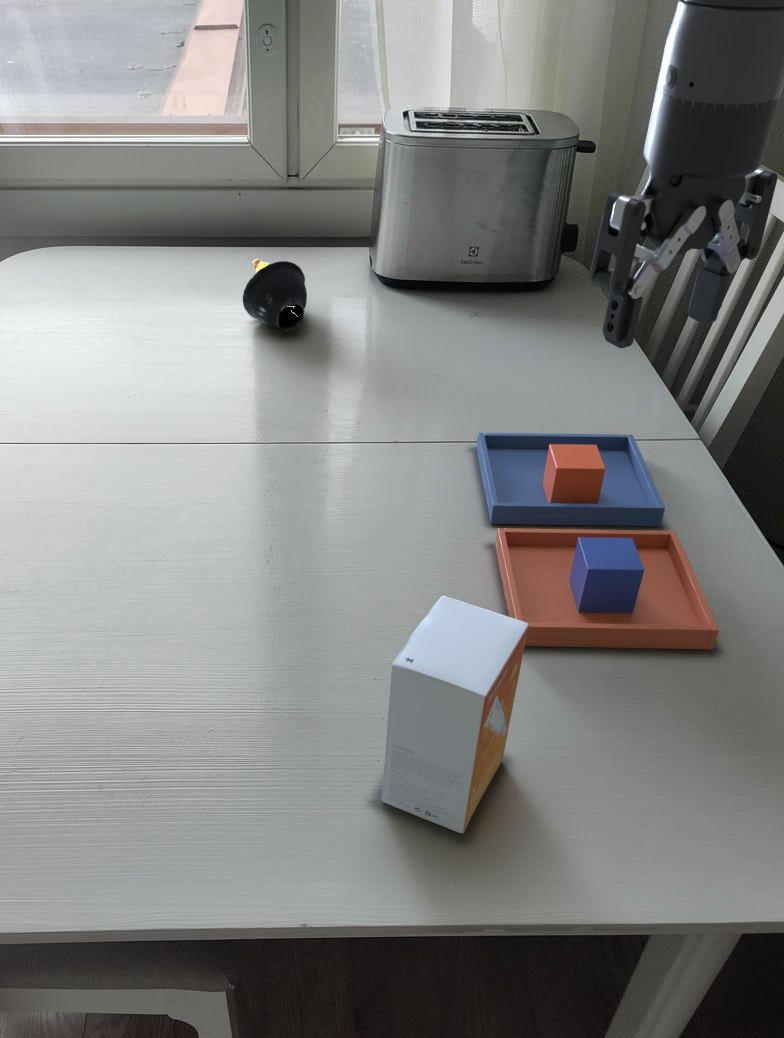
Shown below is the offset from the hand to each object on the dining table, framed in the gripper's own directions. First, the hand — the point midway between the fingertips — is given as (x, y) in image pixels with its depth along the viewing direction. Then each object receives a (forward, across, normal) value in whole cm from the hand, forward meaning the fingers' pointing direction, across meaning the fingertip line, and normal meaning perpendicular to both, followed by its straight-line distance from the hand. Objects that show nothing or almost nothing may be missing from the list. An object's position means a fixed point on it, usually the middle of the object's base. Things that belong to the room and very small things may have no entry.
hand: (660, 331), depth 73 cm
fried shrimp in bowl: (+24, +5, +68) cm, 72 cm away
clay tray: (+23, -2, -1) cm, 23 cm away
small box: (+24, -26, -12) cm, 37 cm away
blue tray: (+23, +8, +14) cm, 28 cm away
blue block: (+23, -2, -2) cm, 23 cm away
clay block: (+23, +6, +12) cm, 26 cm away
